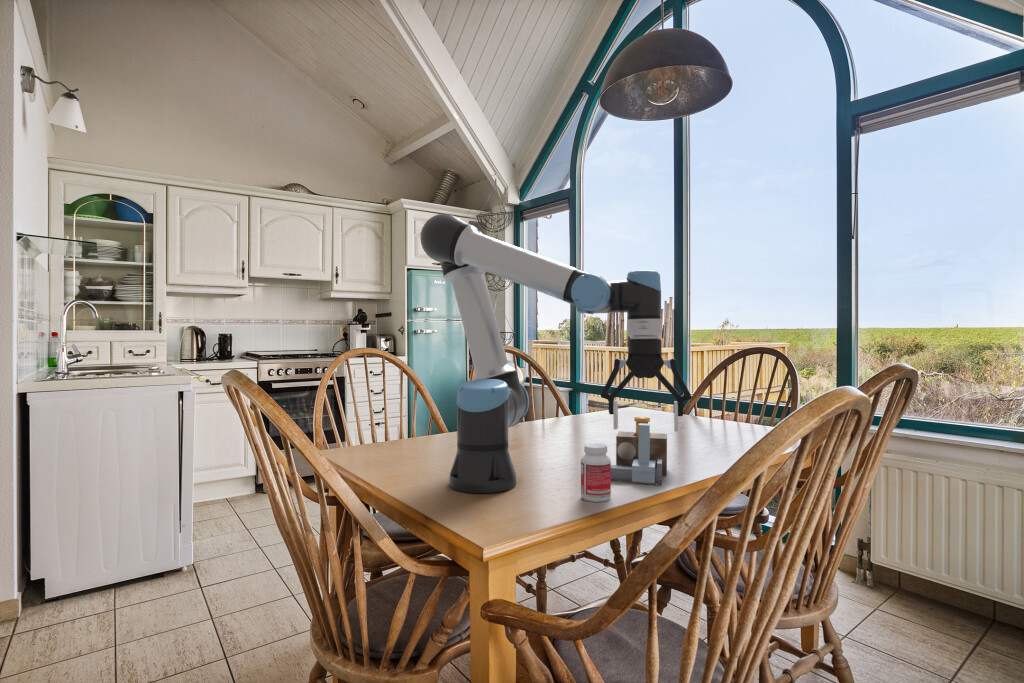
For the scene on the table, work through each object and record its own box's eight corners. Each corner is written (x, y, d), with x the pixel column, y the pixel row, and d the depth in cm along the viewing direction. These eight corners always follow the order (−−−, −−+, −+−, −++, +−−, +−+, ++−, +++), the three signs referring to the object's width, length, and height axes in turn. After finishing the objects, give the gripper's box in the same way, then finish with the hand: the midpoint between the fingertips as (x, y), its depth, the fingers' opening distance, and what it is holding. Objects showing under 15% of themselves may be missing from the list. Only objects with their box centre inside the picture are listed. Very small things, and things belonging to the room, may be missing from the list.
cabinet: (616, 472, 133) (616, 436, 133) (618, 465, 140) (618, 431, 140) (666, 476, 130) (666, 439, 130) (666, 469, 137) (667, 433, 136)
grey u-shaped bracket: (586, 479, 126) (586, 458, 126) (589, 474, 131) (589, 454, 131) (661, 485, 122) (661, 463, 121) (662, 480, 126) (662, 458, 126)
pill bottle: (616, 499, 111) (617, 446, 111) (594, 504, 108) (594, 449, 108) (596, 492, 117) (596, 441, 116) (574, 496, 113) (574, 444, 113)
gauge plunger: (633, 446, 134) (633, 418, 134) (634, 443, 137) (634, 416, 137) (649, 446, 133) (649, 419, 132) (650, 443, 136) (650, 417, 136)
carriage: (631, 482, 123) (632, 426, 122) (633, 474, 129) (634, 421, 129) (654, 484, 121) (654, 427, 121) (655, 476, 128) (655, 422, 127)
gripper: (588, 338, 125) (589, 430, 125) (702, 337, 118) (703, 434, 118) (592, 338, 132) (593, 425, 132) (700, 337, 125) (701, 428, 125)
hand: (645, 429), depth 125 cm, fingers open, 13 cm apart
